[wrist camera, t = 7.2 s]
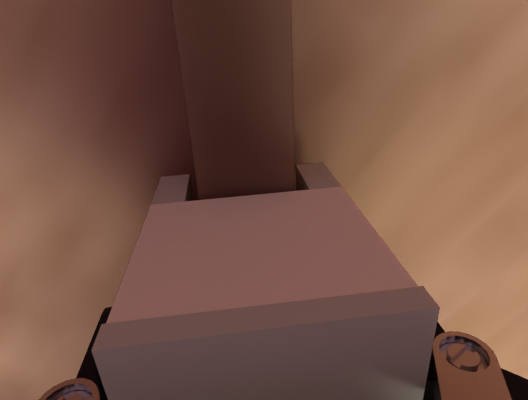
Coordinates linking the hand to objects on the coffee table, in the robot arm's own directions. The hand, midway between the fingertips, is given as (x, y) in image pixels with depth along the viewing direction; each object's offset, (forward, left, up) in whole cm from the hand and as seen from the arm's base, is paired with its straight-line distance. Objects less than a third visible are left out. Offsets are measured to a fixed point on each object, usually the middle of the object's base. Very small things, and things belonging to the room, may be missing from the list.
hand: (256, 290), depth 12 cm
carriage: (0, 0, -4) cm, 4 cm away
